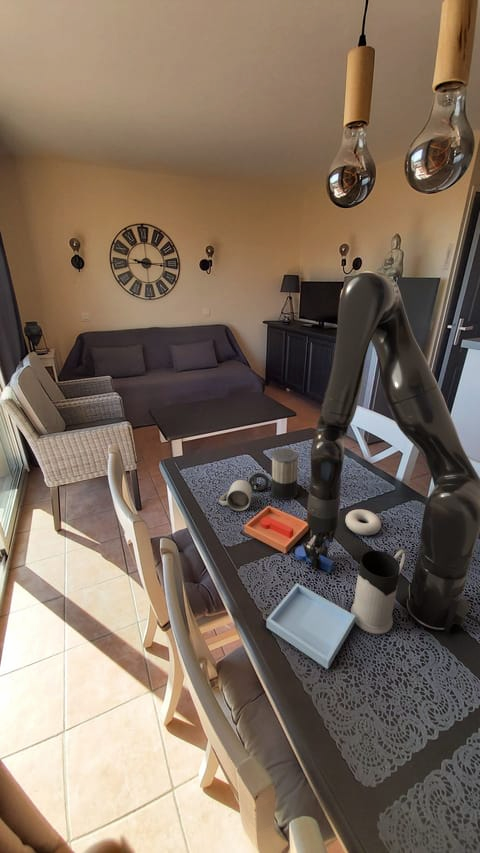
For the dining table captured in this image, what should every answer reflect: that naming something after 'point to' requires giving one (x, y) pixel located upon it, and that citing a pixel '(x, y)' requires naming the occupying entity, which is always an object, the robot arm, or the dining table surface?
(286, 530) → the red spoon
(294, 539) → the terracotta tray
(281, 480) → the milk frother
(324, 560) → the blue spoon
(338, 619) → the blue tray
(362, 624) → the grey pitcher
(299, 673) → the dining table surface
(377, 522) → the donut
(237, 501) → the ceramic mug
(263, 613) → the dining table surface
